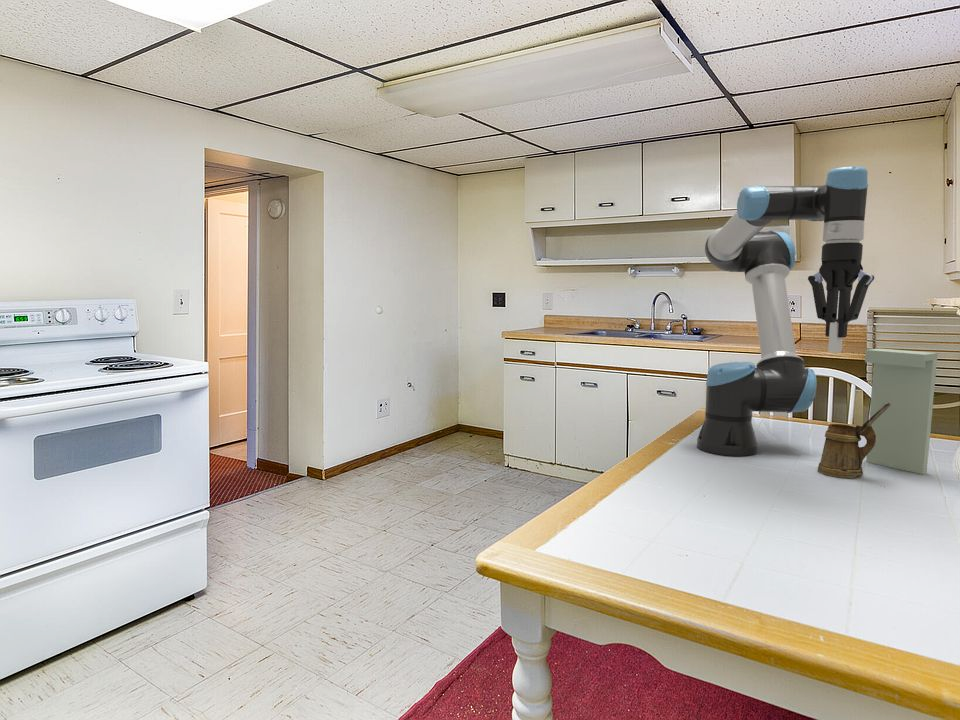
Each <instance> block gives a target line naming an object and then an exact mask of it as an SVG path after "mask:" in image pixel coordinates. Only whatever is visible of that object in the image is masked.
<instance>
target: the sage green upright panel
mask: <svg viewBox="0 0 960 720" xmlns="http://www.w3.org/2000/svg"><path fill="white" fill-rule="evenodd" d="M938 356H939V355H938V352H928V351H916V350H915V351H914V350H902V349H892V348H891V349H888V348H872V349H871V348H869V349H865V356H864V358H865V359H864V363H868V364H869V363H871V364H873V367H872V368H873V369H872V380H871V382H872V383H871V394H870V407H869V408H870V410H869V418H868V420H869V419H870V418H871V417H872V416H873V415H874V414H876V413H877V412H878V411H879V410H880V409H881V408H882V407H883V406H884V405H885V404H888V403H890V406H889V407H888V409H887V410H886V411H885V412H883V413H882V414H881V415H880V416H879V417H878V418H877V419H876V420H875V421H874V422H873V423H872V425H871V426H872V428H873V430H874V432H875V435H876V442H875V445H874V447H873V449H872V450H871V451H870V452H869V453H868V454H867V455H866V457H865V462H866V463H869V464H870V463H871V464H875V465H880V466H885V467H889V468H892V469H896V470H897V469H898V470H902V471H907V472H910V473H916V474H920V475H924V474H927V471H928V462H929V452H930V451H929V450H930V439H931V430H932V420H933V419H932V418H933V409H934V408H933V407H934V395H935V386H936V374H937V366H938V365H937V364H938Z"/></svg>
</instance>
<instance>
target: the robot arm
mask: <svg viewBox="0 0 960 720" xmlns="http://www.w3.org/2000/svg"><path fill="white" fill-rule="evenodd" d="M868 187H869V183H868V170H867V169H866V168H865V167H863V166H842V167H837V168H832V169H830V170H829V171H828V172H827V174H826V180H825V184H823V185H782V186H781V185H773V186H771V185H756V186H746V187H744V188H743V189H741V191H740V192H739V195H738V197H737V202H736V211H735V213H734V214H733V215H732V216H731V217H730V218H729V219H728V220H727V222H726V223H725V224H724V225H723V226H722V227H719V228H717V229H715V230H714V231H712V232H711V234H709V235H708V237H707V239H706V241H705V245H704V253H705V255H706V258H707V259H708V261H709V262H710V264H711V265H712V266H714V267H715V268H717V269H719V270H721V271H724V272H729V273H744V277H745V278H744V279H745V281H746V282H747V283H749V284H751V286H752V295H753V303H754V304H753V305H754V311H755V312H754V313H755V319H756V325H757V326H756V327H757V334H758V342H759V349H760V358H761V359H760V360H758V362H757V363H756V365H755V363H754V362H750V361H733V362H732V361H730V362H723V363H717V364H714V365H712V366H711V367H710V368H709V369H708V370H707V375H706V382H705V385H706V391H705V393H706V394H705V395H706V396H705V415H704V421H703V424H702V426H701V429H700V430H699V431H700V432H699V433H698V436H697V439H696V440H697V441H696V447H697V448H698V449H699V450H701V451H704V452H707V453H710V454H715V455H722V456H732V457H734V456H735V457H746V456H752V455H755V454H757V453H758V445H759V444H758V441H757V437H756V433H755V430H754V426H753V423H752V422H753V421H752V420H753V412H763V413H766V412H767V413H787V414H791V413H802V412H806V411H807V410H808V409H809V408H810V407H811V406H812V405H813V403H814V399H815V397H816V393H817V385H818V383H817V381H818V380H817V375H816V373H815V371H814V370H813V368H809V367H806V366H805V361H804V359H803V357H802V356H799V355H798V354H797V350H796V344H795V337H794V332H793V325H792V319H791V318H792V317H791V312H790V305H789V298H788V291H787V286H786V278H787V277H788V276H789V275H790V272H791V271H792V269H793V268H794V266H795V263H796V254H797V253H796V252H797V251H796V246H795V242H794V240H793V238H792V237H791V236H790V234H788V233H787V232H783V231H776V230H775V231H774V230H769V231H762V230H763V229H764V228H765V227H766V226H767V225H769V223H771V222H772V221H791V220H792V221H794V220H795V221H797V220H798V221H801V220H803V221H805V220H806V221H808V222H823V232H822V241H823V242H824V244H823V245H822V246H821V259H820V260H821V264H820V267H819V269H818V271H817V272H816V273H815V274H814V275H809V276H808V277H807V280H808V282H809V284H810V286H811V289H812V293H813V298H814V299H813V300H814V305H815V306H814V307H815V311H816V317H817V319H819V320H823V321H825V323H826V324H825V334H824V335H825V337H827V338H828V347H827V353H829V354H839V353H842V350H843V348H842V347H843V338H846V337H847V336H848V325H849V323H850V322H851V321H855V320H858V319H859V315H860V313H861V310H862V306H863V304H864V300H865V298H866V295H867V292H868V289H869V286H870V285H871V283H873V281H874V280H875V275H873V274H869V273H867V272H866V271H864V268H863V265H862V259H863V246H864V245H863V243H862V242H861V241H863V240H864V238H865V237H864V234H865V217H866V207H867V195H868ZM856 280H857V281H858V283H857V284H856V286H855V290H854V292H853V296H851V295H852V291H853V286H854V285H853V284H854V283H855V282H856ZM823 281H824V282H825V283H826V287H824V283H823ZM825 290H826V294H825ZM851 297H852V298H851Z"/></svg>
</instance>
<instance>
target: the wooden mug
mask: <svg viewBox="0 0 960 720" xmlns="http://www.w3.org/2000/svg"><path fill="white" fill-rule="evenodd" d="M889 406H890V403H888V404H885V405H884V406H883V407H882V408H881V409H880V410H879V411H878V412H877V413H876V414H874V415H873V416H872V417H871V418H870V417H869V418H870V419H869V418H868V420H867V421H865V422H864V423H863V424H857V425H856V426H853V425H849V424H843V423H842V424H841V423H830V424H828V426H827V430H826V431H825V434H824V437H825V440H824V444H823V449H822V453H821V458H820V462H819V463H818V466H817V471H818V472H819V473H821V474H823V475H826V476H829V477H833V478H834V477H835V478H840V479H857V478H861V476H863V475H864V471H863V462H864V460H865V459H866V456H867V454H868V453H869V452H870V451H871V450H872V449H873V447H874V445H875V442H876V435H875V432H874V430H873V428H872V426H871V425H872V423H873V422H874V421H875V420H876V419H877V418H878V417H879V416H880V415H881V414H882V413H883V412H885V411H886V410H887V409H888V407H889ZM861 437H864V439H865V440H866V443H865V445H864V446H859V442H861V441H862V438H861Z"/></svg>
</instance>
